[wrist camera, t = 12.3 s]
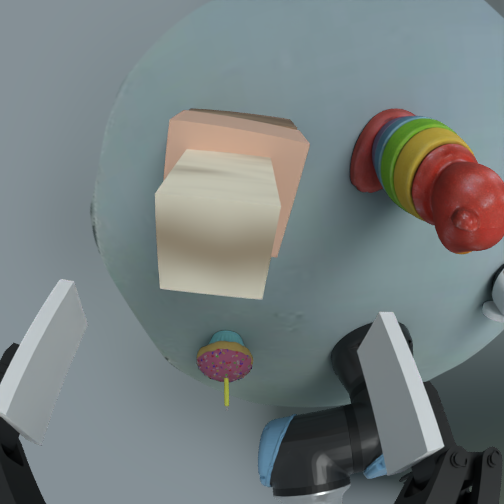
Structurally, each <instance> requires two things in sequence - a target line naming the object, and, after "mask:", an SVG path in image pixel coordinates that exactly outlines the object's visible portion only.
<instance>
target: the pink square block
mask: <svg viewBox="0 0 504 504" xmlns="http://www.w3.org/2000/svg"><path fill="white" fill-rule="evenodd" d="M309 146H310V144H309V142H308V141H307V140H306V139H305V137H304V136H303V135H302V133H301V132H300V131H299V130H295V129H291V128H286V127H282V126H277V125H273V124H268V123H263V122H258V121H253V120H248V119H242V118H236V117H231V116H224V115H218V114H211V113H204V112H197V111H189V110H183V111H182V112H180V113H179V114H177V115H176V116H174V117H173V118H171V119H170V122H169V130H168V139H167V148H166V157H165V168H164V180H165V179H166V177H167V176H168V174H169V173H170V171H171V170H172V169H173V167H174V166H175V164H176V163H177V162H178V160H179V159H180V158H181V156H182V155H183V153H184V152H185V151H186V149H192V150H205V151H216V152H227V153H237V154H246V155H254V156H262V157H270V158H271V162H272V166H273V171H274V176H275V180H276V185H277V190H278V194H279V199H280V204H281V209H280V214H279V219H278V224H277V229H276V234H275V239H274V244H273V249H272V254H271V257H277V255H278V252H279V249H280V246H281V242H282V239H283V236H284V232H285V229H286V226H287V222H288V219H289V216H290V212H291V209H292V205H293V202H294V199H295V195H296V192H297V188H298V185H299V181H300V178H301V174H302V171H303V167H304V164H305V160H306V157H307V153H308V150H309ZM164 180H163V181H164Z"/></svg>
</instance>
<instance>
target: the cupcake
mask: <svg viewBox="0 0 504 504" xmlns="http://www.w3.org/2000/svg"><path fill="white" fill-rule="evenodd" d="M252 364H253V357H252V355H251V353H250V351H249V349H247V348H246V347H245V346H244V344H243V341H242V338H241V337H240V335H238V334H237V333H235V332H233V331H227V330H225V331H219V332H217V333H215V334H214V335H213V337H212V339H211V341H210V342H209V344H208V345H207V346H204V347H201V348H200V350H199V351H198V354H197V365H198V367H199V368H200V369H199V368H198V369H199V370H201V371H202V372H203V373H204V375H205V376H207V377H209V378H210V379H214V380H216V381H220V382H224V401H225V406H226V410H227V411H228V406H229V382H233V381H236V380H240V379H242V378H244V377H245V376H246V375H247V374H248V373H249V372H250V370H251V369H252Z"/></svg>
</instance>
